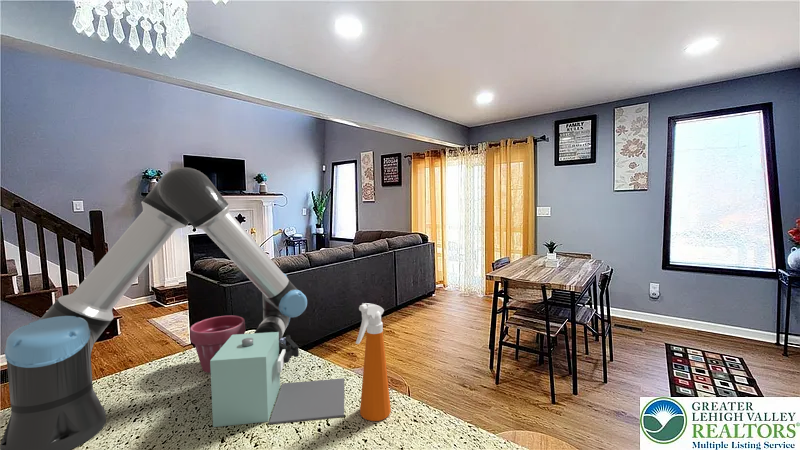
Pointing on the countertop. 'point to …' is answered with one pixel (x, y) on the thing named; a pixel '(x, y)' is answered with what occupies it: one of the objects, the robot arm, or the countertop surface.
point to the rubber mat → (309, 401)
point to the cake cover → (245, 379)
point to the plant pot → (214, 336)
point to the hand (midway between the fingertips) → (248, 369)
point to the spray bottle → (374, 365)
